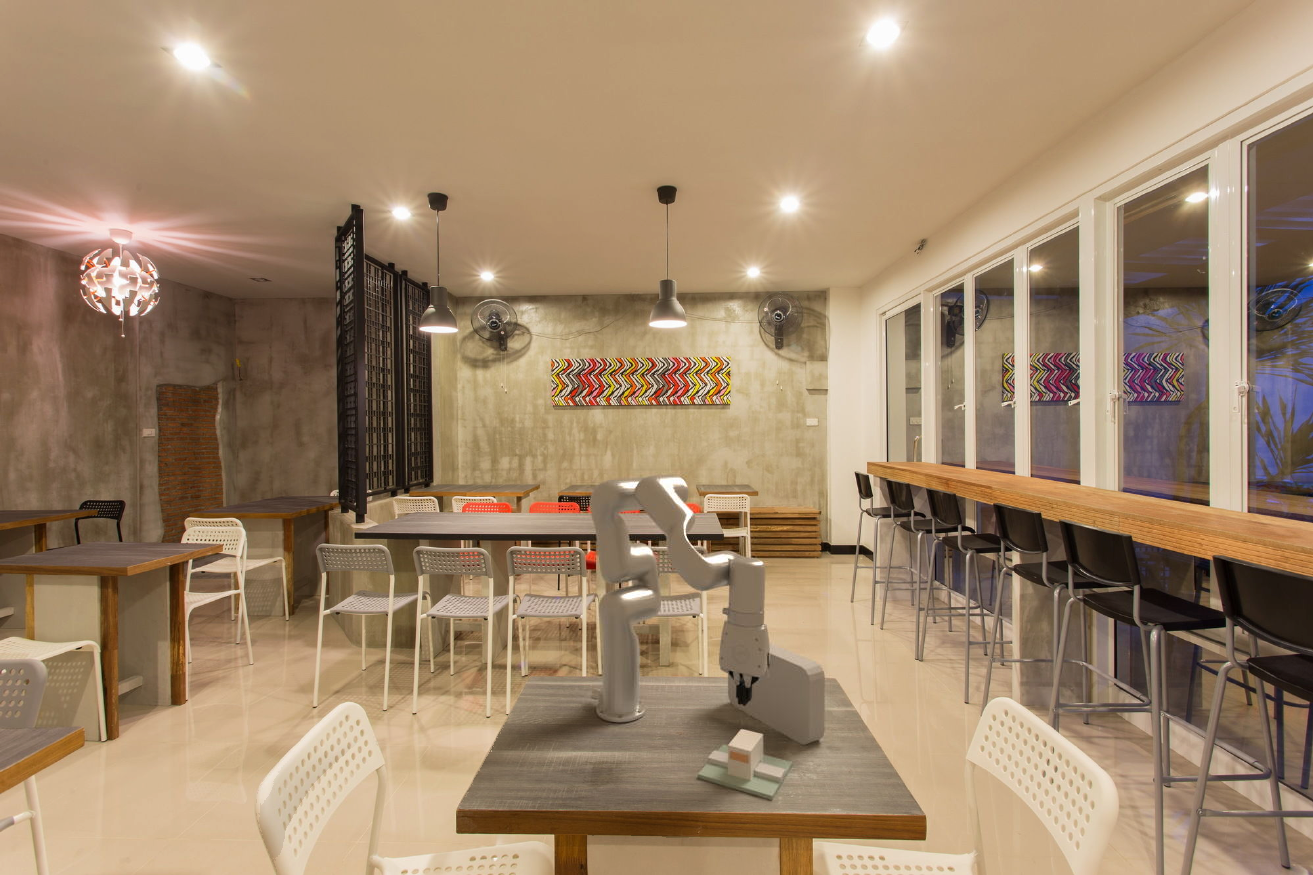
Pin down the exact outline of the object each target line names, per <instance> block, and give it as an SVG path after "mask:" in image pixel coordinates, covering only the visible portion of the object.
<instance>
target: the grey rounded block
mask: <svg viewBox="0 0 1313 875" xmlns="http://www.w3.org/2000/svg"><path fill="white" fill-rule="evenodd" d="M769 645H770V667H769V669H768V670H769V675H770V678H769V679H768V680H767V681H757V682H755V683H754V684H753V685H752V699H751V701H749V702H748V703H747V704H746V706H743V705H742V704H741V705H739V704H738V698H736V685H735V683H734V680H733V679H732V677H731V676H730V675H729V674H728V673H727V696H728V699H729V701H730V704H731V705H733V707H735V708H737V709H738V710H740V711H741V712H744V713H745V714H747V715H748V716H750V717H753V718H754V719H755V720H757V721H759V722H761V723H763V724H765V725H766V726H768V727H770V728H772V729H773V730H775V731H777V732H779V733H781V734H783V735H785V736H786V737H788V738H790V739H791V740H792V741H795V742H797V743H798V744H800V745H804V746H805V745H808V744H811V743H813V742H815V741H818V740H821V739H822V738H824V735H825V725H826V724H825V723H826V722H825V721H826V720H825V718H826V717H825V716H826V714H825V710H826V709H825V707H826V706H825V704H826V703H825V702H826V698H825V697H826V696H825V695H826V693H825V692H826V689H825V688H826V687H825V686H826V680H825V679H826V678H825V670H824V669H823V667H822V665H820V664H819V663H818V662H816V661H815V660H812V659H810V658H808V657H807V658H806V657H805V656H802V655H800V654H798V653H795V652H794V651H793V652H792V651H790V650H787V649H786V648H782V647H780V646H777V645H776V644H773V643H770V642H769ZM745 680H746V675H745V674H744V681H745Z"/></svg>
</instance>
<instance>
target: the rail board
mask: <svg viewBox="0 0 1313 875" xmlns="http://www.w3.org/2000/svg"><path fill="white" fill-rule="evenodd" d="M728 745H729V744H724V743H723V744H722V745H721V746H720V747H719V749H718V750H713V751H712V752H711V753H710V755H709V756H708V757H707V763H706V764H705V765H704V767H702V769H701V770H700V771H699V772H698V773H697V778H698V779H700V780H703V781H707V782H710V783H715V784H716V785H717V784H718V785H720V786H724V787H726V788H731V789H735V790H737V791H742V792H745V793H747V794H751V795H754V796H758V797H762V798H765V799H766V800H767V799H769V800H771V801H773V800H774V798H775V797H776V795H777V793H778V791H779V790H780V789H781V786H782V784H783V783H784V781H785V779H786V778H787V776H788V774H789V772H790V770H791V769H792V767H793V761H790V760H786V759H782V758H778V757H773V756H769V755H766V754H763V763H760V762H759V763H758V764H757V766H756V767H755V769H754V777H753V778H752V780H751V781H750V780H747V779H743V778H740V777H736V776H733V775H729V774H728Z"/></svg>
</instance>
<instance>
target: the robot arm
mask: <svg viewBox="0 0 1313 875" xmlns="http://www.w3.org/2000/svg"><path fill="white" fill-rule="evenodd" d="M689 496H690V490H689V486H688V484H687V482H686V481H685V480H684V479H683V478H682V477H680V476H678V475H675V474H661V475H659V474H658V475H650V476H646V477H635V478H634V477H633V478H631V477H630V478H615V479H609V480H606V481H603V482H600V483H599V484H598V485H597V486H595V488H594V489H593V490H592V492H591V494H590V500H589V511H590V515H591V518H592V523H593V525H594V526H593V527H594V528H595V534H596V544H597V553H598V562H599V563H598V564H599V569H600V574H601V577H602V579H603V581H605V582H606V583H607V584H613V585H615V584H621V583H627V582H631V584H632V585H629V586H625V587H621V588H617V589H612V590H610V591H609V592H607V593H605V594H604V595H603V596H602V597H601V598H600V601H599V603H598V615H599V619H600V620H599V621H600V626H601V635H602V641H601V642H602V689H601V688H598V687H593V688H592V690H591V695H590V698H591V700H597V702H598V704H597V706H596V708H595V710H596V711H595V712H596V715H597V716H598V717H599V718H601V719H602V720H603V721H607V722H611V723H612V722H613V723H628V722H633V721H636V720H638V719H640V718H641V717H643V716H644V715H645V713H646V705H645V703H644V702H643V701H641V699H640V640H639V637H638V635H637V633H636V632H635V630H634V626H633V625H635V624H638V623H640V622H644V621H647V620H651V619H653V618H655V617H656V616H657V615H658V614H659V612H660V611H661V606H662V595H661V586H660V585H661V584H660V579H659V570H658V563H657V558H656V555H655V553H654V552H653V550H652V549H651V548H650V546H649V545H647V544H646V543H642V542H634V543H631V541H630V534H629V533H630V532H629V529H628V525H627V523H626V522H625V520H624V518H623V517H622V516H621V515H620V513H622V512H632V511H640V510H641V511H642V510H643V511H644V512H645V513H646V514H647V516H649V517H650V519H651V520H652V521H653V522H654V523H655V525H656V526H657V527H658V528H659V530H660V531H661V532H662V533H663V534H664V536H665V537H666V540H665V541H666V543H665V544H666V551H667V556H668V559H669V562H670V563H671V566H672V567H673V569H675V571H676V572H677V574H678V575H679V576H680V577H681V578H682V579H683V581H684V582H685V583H687V585H688V586H690V588H692V589H694V590H696V591H700V592H707V591H710V590H713V589H718V588H721V587H726V586H728V607H723V608H722V611H721V612H722V614H723V615H726V616H727V619H726V620H724V622H723V626H722V630H721V637H720V644H719V654H718V663H719V669H720V670H721V671H722V672H724V673H726V674H727V675H728V674H729V675H730V676H731V677H732V679H733V680H734V683H735V685H736V698H738V704H739V705H741V704H742V705H743V706H746V704H747V703H748V702H749V701H751V699H752V685H753V684H754V683H755V682H757V681H767V680H768V679H769V678H770V675H769V670H768V669H769V667H770V645H769V643H770V638H769V632H768V631H769V630H768V626H767V624H766V623H765V599H766V595H765V593H766V566H765V565H766V564H765V563H764V561H762V560H761V559H759V558H756V557H749V556H748V557H747V556H743V555H741V554H738V553H737V552H734V551H731V550H721V551H715V552H710V553H704V554H700V553H699V552H698V550H697V549H695V547H694V545H692V543H691V542H690V541H689V539H688V537H687V535H688V533H689V532H690V531H691V530H692V528H693V527H694V524H695V522H696V515H695V513H694V511H693V510H692V509H691V508H690V507H689V506H688V505H687V504H686V503H687V502H688V500H689ZM744 674H745V675H746V680H745V681H744Z"/></svg>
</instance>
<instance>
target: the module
mask: <svg viewBox="0 0 1313 875" xmlns="http://www.w3.org/2000/svg"><path fill="white" fill-rule="evenodd" d="M727 745H728V774H729V775H733V776H736V777H740V778H743V779H747V780H750V781H751V780H752V778H753V777H754V769H755V767H756V766H757V764H758V763H759V762H760V763H763V755H764V734H763V733H760V732H755V731H751V730H748V729H743V728H741V729H740V730H739V731H738V732H737V734H736V735H735V736H734V737H733V738H732V740H731V741H730V742H729V744H727Z"/></svg>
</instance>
